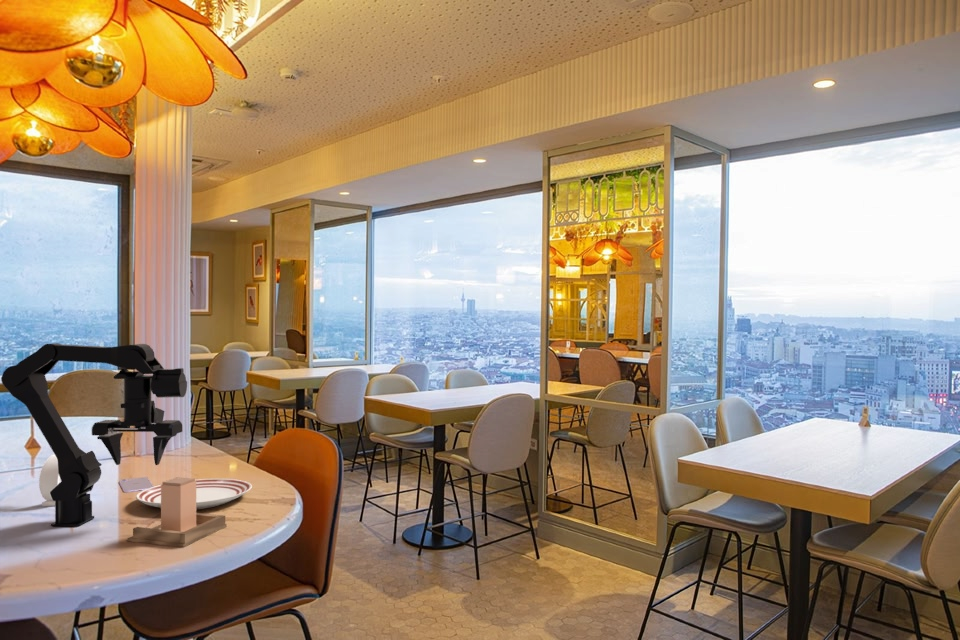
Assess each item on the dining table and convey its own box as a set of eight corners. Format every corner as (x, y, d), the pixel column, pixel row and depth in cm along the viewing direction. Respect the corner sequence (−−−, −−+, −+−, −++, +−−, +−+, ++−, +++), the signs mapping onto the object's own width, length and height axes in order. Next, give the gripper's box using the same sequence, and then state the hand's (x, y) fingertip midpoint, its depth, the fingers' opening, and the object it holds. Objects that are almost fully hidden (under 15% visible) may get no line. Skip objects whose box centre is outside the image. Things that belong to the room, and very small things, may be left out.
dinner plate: (142, 493, 179) (142, 480, 179) (250, 484, 189) (250, 472, 189) (129, 522, 153) (129, 508, 153) (253, 510, 163) (253, 497, 163)
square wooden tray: (127, 541, 140) (127, 528, 140) (174, 521, 153) (174, 510, 153) (183, 547, 136) (183, 534, 136) (226, 526, 150) (226, 515, 150)
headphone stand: (72, 500, 171) (72, 454, 171) (57, 507, 165) (57, 459, 165) (54, 500, 171) (54, 454, 171) (38, 507, 165) (38, 459, 165)
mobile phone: (124, 490, 178) (118, 479, 190) (124, 494, 178) (118, 482, 190) (155, 486, 182) (147, 475, 195) (155, 490, 182) (147, 479, 195)
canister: (161, 532, 143) (161, 482, 143) (177, 525, 148) (177, 476, 148) (180, 534, 142) (180, 483, 142) (196, 527, 147) (196, 478, 147)
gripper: (193, 394, 162) (193, 457, 162) (117, 393, 162) (117, 457, 162) (170, 399, 151) (170, 468, 151) (90, 399, 151) (90, 467, 151)
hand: (137, 464), depth 154 cm, fingers open, 9 cm apart
